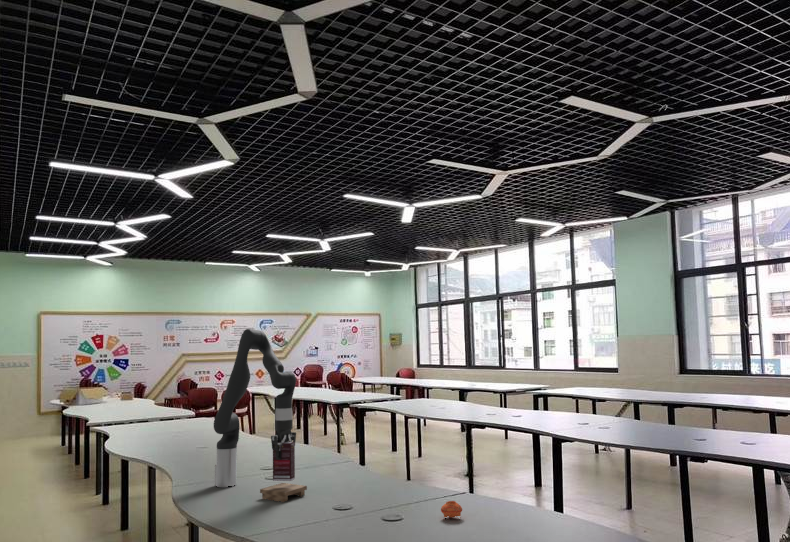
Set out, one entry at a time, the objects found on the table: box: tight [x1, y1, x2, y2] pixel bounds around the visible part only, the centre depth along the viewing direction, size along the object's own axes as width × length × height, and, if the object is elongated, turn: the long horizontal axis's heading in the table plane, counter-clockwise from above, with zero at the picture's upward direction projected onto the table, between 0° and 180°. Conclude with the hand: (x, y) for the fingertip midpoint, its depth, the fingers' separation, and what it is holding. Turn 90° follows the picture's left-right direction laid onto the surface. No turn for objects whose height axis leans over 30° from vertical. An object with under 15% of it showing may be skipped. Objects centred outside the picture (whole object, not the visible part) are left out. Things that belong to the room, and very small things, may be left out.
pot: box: [440, 500, 463, 518], centre depth 230 cm, size 8×8×7 cm
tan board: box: [259, 482, 308, 503], centre depth 268 cm, size 14×14×4 cm
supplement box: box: [272, 441, 296, 482], centre depth 270 cm, size 9×5×16 cm, turn 78°
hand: (283, 458), depth 270 cm, fingers closed on supplement box, 5 cm apart
